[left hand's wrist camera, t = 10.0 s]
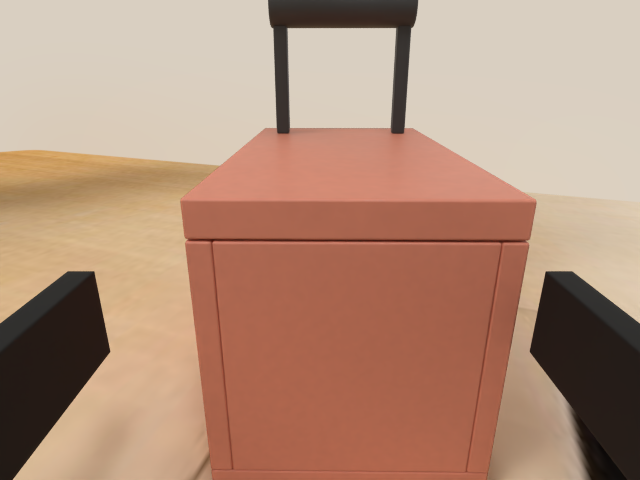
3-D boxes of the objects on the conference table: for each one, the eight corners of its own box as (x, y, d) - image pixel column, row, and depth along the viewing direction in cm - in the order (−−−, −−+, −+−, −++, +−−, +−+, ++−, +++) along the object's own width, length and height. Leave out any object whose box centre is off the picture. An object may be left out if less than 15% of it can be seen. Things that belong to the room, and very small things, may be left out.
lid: (265, 146, 28) (258, -6, 25) (412, 147, 28) (423, -6, 25) (183, 240, 12) (137, -156, 9) (530, 241, 12) (604, -159, 9)
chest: (270, 278, 31) (264, 148, 28) (403, 279, 31) (413, 148, 28) (212, 486, 15) (184, 241, 12) (485, 489, 15) (530, 243, 12)
